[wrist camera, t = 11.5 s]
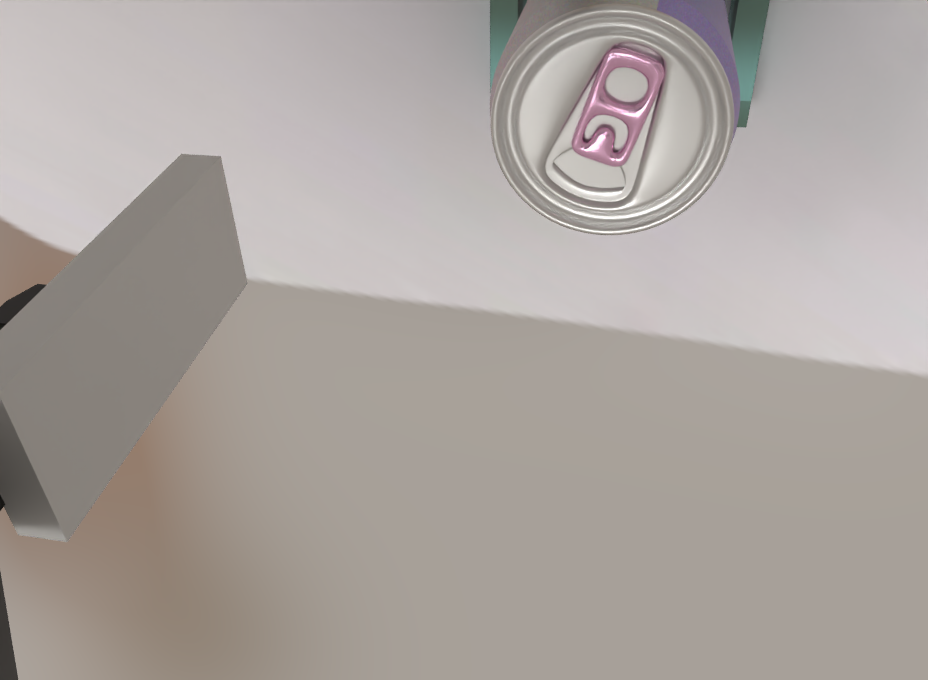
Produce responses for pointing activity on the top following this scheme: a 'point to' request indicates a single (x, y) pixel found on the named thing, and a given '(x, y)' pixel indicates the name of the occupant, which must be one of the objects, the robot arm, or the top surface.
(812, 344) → the top surface
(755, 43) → the holder board
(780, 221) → the top surface
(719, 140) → the beverage can
